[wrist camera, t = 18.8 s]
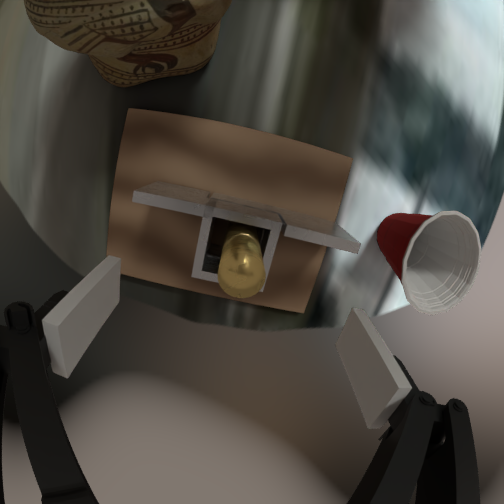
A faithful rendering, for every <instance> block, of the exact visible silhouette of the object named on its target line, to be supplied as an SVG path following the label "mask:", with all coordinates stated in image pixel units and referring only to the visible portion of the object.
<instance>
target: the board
mask: <svg viewBox="0 0 504 504" xmlns="http://www.w3.org/2000/svg"><path fill="white" fill-rule="evenodd" d="M352 161H353V158H350V157H347V156H344V155H341V154H338V153H335V152H332V151H329V150H326V149H323V148H320V147H316V146H313V145H310V144H306V143H303V142H300V141H296V140H293V139H289V138H286V137H282V136H278V135H274V134H270V133H267V132H263V131H259V130H254V129H250V128H246V127H242V126H237V125H233V124H228V123H223V122H218V121H213V120H208V119H202V118H197V117H191V116H185V115H179V114H172V113H166V112H158V111H151V110H142V109H133V108H128V112H127V116H126V121H125V125H124V130H123V134H122V139H121V144H120V149H119V155H118V160H117V166H116V172H115V179H114V185H113V192H112V200H111V209H110V218H109V228H108V240H107V255H106V257H107V256H109V255H110V256H114V257H118V258H121V270H120V274H124V275H128V276H132V277H136V278H140V279H144V280H148V281H152V282H156V283H160V284H164V285H168V286H172V287H177V288H181V289H185V290H190V291H194V292H199V293H203V294H208V295H212V296H217V297H222V298H226V299H231V300H236V301H241V302H246V303H251V304H256V305H261V306H266V307H272V308H277V309H282V310H288V311H294V312H299V313H304V311H305V308H306V306H307V303H308V300H309V297H310V295H311V292H312V289H313V286H314V283H315V281H316V278H317V275H318V272H319V269H320V266H321V263H322V260H323V257H324V254H325V251H326V248H327V246H324V245H320V244H316V243H312V242H308V241H303V240H299V239H295V238H291V237H287V236H284V235H283V233H282V231H281V230H280V234H279V237H278V241H277V245H276V248H275V252H274V255H273V259H272V262H271V266H270V269H269V272H268V276H267V279H266V283H265V286H264V290H263V292H260V291H259V292H258V293H256V294H255V295H253V296H251V297H248V298H236V297H233V296H230V295H228V294H227V293H226V292H224V291H223V289H222V288H221V287H220V285H219V283H217V282H212V281H208V280H203V279H199V278H194V277H191V276H192V270H193V265H194V259H195V254H196V249H197V243H198V238H199V233H200V228H201V223H202V218H203V217H202V216H197V215H192V214H188V213H183V212H179V211H174V210H169V209H164V208H160V207H155V206H150V205H145V204H140V203H135V202H132V199H133V192H134V190H136V189H139V188H141V187H144V186H147V185H149V184H152V183H155V182H157V181H159V182H165V183H170V184H175V185H180V186H185V187H189V188H194V189H199V190H204V191H208V192H210V196H209V198H210V197H211V196H212V195H213V193H214V192H215V193H219V194H224V195H228V196H233V197H237V198H242V199H246V200H250V201H254V202H259V203H263V204H267V205H271V206H275V207H279V208H283V209H287V210H291V211H295V212H299V213H303V214H306V215H310V216H314V217H318V218H322V219H325V220H329V221H333V222H335V220H336V217H337V213H338V210H339V207H340V203H341V200H342V197H343V193H344V190H345V186H346V183H347V179H348V175H349V172H350V168H351V164H352ZM228 221H229V220H226V219H222V218H217V217H216V219H215V224H214V229H213V233H212V238H211V244H216V245H220V246H223V243H224V238H225V233H226V229H227V224H228ZM259 228H260V227H257V226H256V230H257V234H258V232H259Z"/></svg>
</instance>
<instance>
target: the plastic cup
mask: <svg viewBox="0 0 504 504" xmlns="http://www.w3.org/2000/svg"><path fill="white" fill-rule="evenodd" d="M377 242H378V244H379V247H380V250H381V252H382V253H383V254H384V256H385V257H386V260H387V261H388V263H389V264H390V266H391V267H392V269H393V270H394V272H395V273H396V275H397V276H398V278H399V279H400V281H401V284H402V285H403V288H404V292H405V295H406V298H407V301H408V302H409V303H410V304H411V305H412V306H413V307H414V308H415V309H416V310H417V311H418V312H420V313H424V314H428V315H436V314H440V313H444V312H447V311H448V310H450V309H451V308H453V307H454V306H455V305H457V304H458V303H459V302H461V301H462V299H463V298H464V297H465V295H466V294H467V292H468V291H469V290H470V289H471V287H472V285H473V283H474V280H475V278H476V275H477V273H478V270H479V265H480V257H481V245H480V240H479V235H478V231H477V230H476V228H475V226H474V225H473V223H472V221H471V220H470V218H468V217H467V216H465V215H463V214H461V213H460V212H458V211H443V212H438V213H437V214H435V215H434V216H431V215H422V214H406V213H395V214H392V215H390V216H388V217H386V218H385V219H384V220H383V222H382V223H381V224H380V226H379V229H378V232H377Z"/></svg>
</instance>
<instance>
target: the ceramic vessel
mask: <svg viewBox="0 0 504 504" xmlns="http://www.w3.org/2000/svg"><path fill="white" fill-rule="evenodd" d="M231 2H232V0H24V4H25V8H26V12H27V15H28V17H29V19H30V21H31V23H32V25H33V26H34V28H35V29H36V31H37V32H38V33H39V34H41V35H43V36H44V37H46V38H48V39H49V40H50V41H52V42H53V43H54V44H56V45H58V46H59V47H61V48H63V49H65V50H69V51H73V52H78V53H83V54H88V56H89V57H90V59H91V61H92V63H93V65H94V66H95V68H96V69H97V70H98V72H99V73H100V75H101V76H102V77H103V78H104V79H105V80H106V81H107V82H109V83H111V84H113V85H115V86H118V87H130V86H135V85H138V84H141V83H144V82H147V81H150V80H154V79H158V78H162V77H168V76H177V75H184V74H189V73H192V72H195V71H197V70H199V69H201V68H202V67H204V66H205V65H206V64H207V63H208V62H209V61H210V60H211V58H212V56H213V54H214V52H215V48H216V44H217V40H218V35H219V29H220V23H221V18H222V17H223V15H224V14H225V12H226V11H227V9H228V8H229V6H230V4H231Z"/></svg>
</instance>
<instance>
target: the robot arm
mask: <svg viewBox="0 0 504 504" xmlns="http://www.w3.org/2000/svg"><path fill="white" fill-rule="evenodd" d="M120 270H121V258H118V257H114V256H110V255H109V256H107V257H106V258H105V259H104V260H103V261H102V262H101V263H100V264H99V265H98V266H96V267H95V268H94V269H93V270H92V271H91V272H90V273H89V274H88V275H87V276H86V277H85V278H84V279H83V280H81V281H80V282H79V283H78V284H77V285H76V286H75V287H74V288H73V289H72V290H71V291H70V292H67V291H64V290H63V291H60V292H58V293H56V294H54V295H53V296H52V297H51V298H50V299H49V300H48V301H46V302H45V303H44V305H42V306H41V308H39V309H38V310H37V311H36V312H35V313H34V309H33V307H32V306H31V305H30V304H29V303H26V302H14V303H11V304H10V305H8V306H7V307H6V308H5V310H4V316H5V320H6V324H7V326H2V325H0V504H5V501H4V492H3V479H2V426H3V413H4V401H5V394H6V386H7V379H8V374H11V375H12V383H13V390H14V395H15V402H16V406H17V412H18V417H19V421H20V426H21V430H22V434H23V438H24V442H25V446H26V449H27V452H28V456H29V459H30V462H31V465H32V468H33V471H34V474H35V477H36V480H37V482H38V485H39V488H40V490H41V493H42V499H41V501H42V504H99V503H98V501H97V499H96V497H95V496H94V494H93V492H92V490H91V488H90V486H89V484H88V482H87V480H86V478H85V476H84V474H83V472H82V470H81V468H80V465H79V463H78V461H77V459H76V457H75V454H74V452H73V449H72V447H71V444H70V442H69V439H68V437H67V434H66V431H65V429H64V426H63V423H62V420H61V417H60V414H59V411H58V408H57V405H56V402H55V398H54V395H53V392H52V388H51V385H50V381H49V377H48V373H47V367H48V366H49V364H50V363H51V366H52V370H53V372H54V373H56V374H59V375H61V376H63V377H65V378H68V377H69V376H70V374H71V373H72V371H73V369H74V368H75V366H76V365H77V363H78V361H79V360H80V358H81V356H82V355H83V354H84V352H85V351H86V349H87V348H88V346H89V345H90V343H91V342H92V340H93V339H94V337H95V336H96V334H97V333H98V331H99V330H100V328H101V327H102V325H103V324H104V322H105V321H106V320H107V318H108V317H109V315H110V314H111V312H112V311H113V310H114V308H115V307H116V305H117V304H118V303H119V292H120ZM335 346H336V348H337V351H338V353H339V356H340V358H341V361H342V363H343V366H344V368H345V371H346V373H347V376H348V378H349V380H350V383H351V386H352V388H353V390H354V393H355V396H356V398H357V401H358V403H359V406H360V409H361V411H362V414H363V416H364V419H365V421H366V424H367V427H368V429H373V428H382V426H383V425H384V424H385V423H386V422H387V420H388V421H389V423H390V427H389V428H388V429H387V430H386V431H385V432H384V434H383V435H382V436H381V437H380V438H379V440H381V439H382V438H383V439H382V441H381V443H380V445H379V447H378V449H377V451H376V453H375V455H374V457H373V459H372V461H371V463H370V465H369V467H368V469H367V470H366V472H365V474H364V476H363V478H362V480H361V481H360V483H359V485H358V486H357V488H356V490H355V491H354V493H353V495H352V497H351V498H350V500H349V501H348V503H347V504H409V502H410V499H411V497H412V494H413V491H414V489H415V486H416V483H417V491H416V500H415V504H480V491H479V478H478V468H477V460H476V452H475V447H474V440H473V434H472V429H471V423H470V418H469V413H468V409H467V407H466V405H465V404H464V403H463V402H462V401H461V400H458V399H454V398H453V399H450V400H449V402H448V403H447V404H446V405H441V404H437V402H436V400H435V399H434V398H433V397H432V395H430V394H428V393H426V392H424V391H419V389H418V388H417V386H416V384H415V383H414V381H413V379H412V378H411V376H410V375H409V373H408V371H407V370H406V368H405V366H404V365H403V363H402V362H401V361H400V360H399V359H398V358H397V357H396V356H394V355H392V354H391V352H390V350H389V349H388V347H387V345H386V344H385V342H384V341H383V339H382V337H381V336H380V334H379V333H378V331H377V330H376V328H375V327H374V325H373V323H372V322H371V320H370V319H369V317H368V316H367V314H366V313H365V311H364V310H363V309H357V308H352V310H351V312H350V314H349V316H348V319H347V321H346V323H345V325H344V327H343V330H342V332H341V334H340V336H339V338H338V340H337V342H336V344H335ZM444 439H445V442H444V443H443V440H444Z"/></svg>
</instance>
